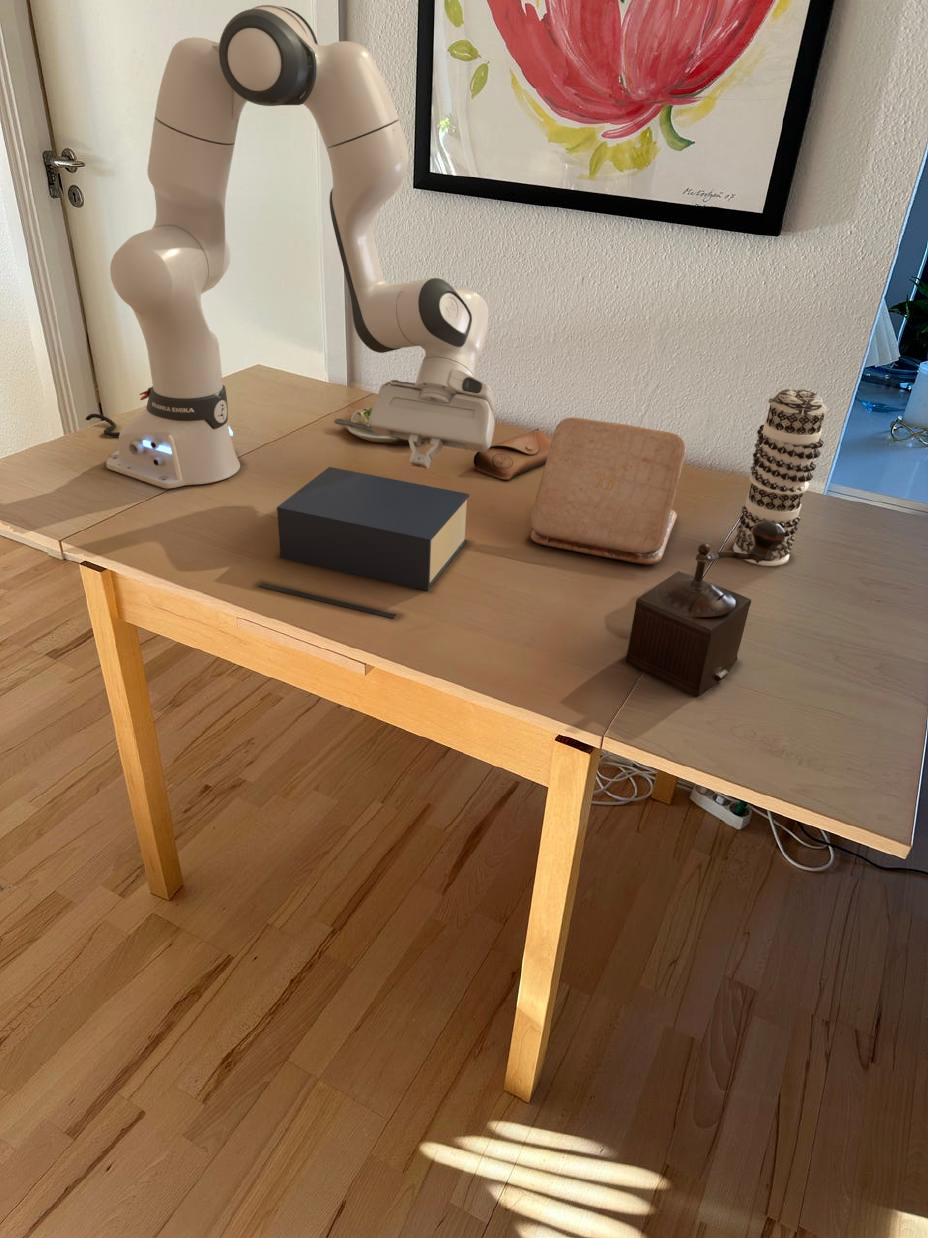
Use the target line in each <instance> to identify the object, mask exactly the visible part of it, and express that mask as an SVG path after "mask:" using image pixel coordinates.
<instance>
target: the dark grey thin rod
mask: <svg viewBox="0 0 928 1238" xmlns="http://www.w3.org/2000/svg"><path fill="white" fill-rule="evenodd" d="M258 587H259V588H263V589H267V590H271V591H275V592H280V593H284V594H288V595H291V596H297V597H301V598H305V599H309V600H313V601H318V602H322V603H326V604H329V605H333V606H339V607H343V608H347V609H351V610H356V611H359V612H363V613H368V614H371V615H377V616H379V617H380V616H381V617H385V618H389V619H395V617H397V613H392V612H388V611H384V610H379V609H375V608H371V607H367V606H363V605H358V604H354V603H350V602H345V601H341V600H337V599H333V598H328V597H324V596H320V595H316V594H312V593H308V592H303V591H300V590H295V589H291V588H286V587H283V586H278V585H273V584H269V583H266V582H261V584H259V586H258Z"/></svg>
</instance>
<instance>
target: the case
mask: <svg viewBox="0 0 928 1238" xmlns="http://www.w3.org/2000/svg"><path fill="white" fill-rule="evenodd" d="M551 442H552V443H551V447H550V450H549V453H548V457H547V460H546V464H544V467H543V471H542V475H541V479H540V482H539V485H538V489H537V493H536V495H535V499H534V502H533V506H532V510H531V512H530V513H531V514H530V518H529V524H530V527H531V529H532V530H531V532H530V539H531V540H532V542H535V544H538V545H541V546H546V547H551V548H557V549H560V550H566V551H572V552H577V553H582V554H587V555H593V556H597V557H603V558H609V559H613V560H618V561H624V562H629V563H633V564H634V563H635V564H639V565H640V564H641V565H645V566H646V565H647V566H651V565H656V564H659V562H661V560H662V558H663V556H664V553H665V551H666V548H667V547H666V546H667V545H668V543H669V539H670V537H671V534H672V530H673V528H674V525H675V522H676V520H677V517H678V514H677V513H676V511H675V510H673V505H674V500H675V496H676V492H677V489H678V484H679V481H680V477H681V473H682V470H683V469H682V468H683V466H684V460H685V457H686V453H687V443H686V441H685V440H684V438H683V437H682V436H681V435H680V434H677V433H674V432H670V431H666V430H665V431H664V430H659V429H652V428H647V427H646V428H645V427H641V426H636V425H632V424H627V423H620V422H619V423H618V422H609V421H602V420H595V419H589V418H583V417H566V418H564V419H562V420H561V421H559V423H558V424H557V425H556V427H555V429H554V432H553V436H552V440H551Z"/></svg>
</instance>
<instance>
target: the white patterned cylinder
mask: <svg viewBox="0 0 928 1238" xmlns="http://www.w3.org/2000/svg"><path fill="white" fill-rule="evenodd" d="M767 402H768V403H769V409H768V413H767V417H766V418H765V421H764V423H763V424H761V425H760V426H759V428H758V429H757V431H756V434H757V440H756V442H755V444H754V449H755V451H754V452H753V453H752V457H753V459H752V460H753V463H752V465H751V466H750V471H751V474H750V475H749V480H750V482H751V485H750V487H749V492H748V494H747V496H746V500H745V503H744V505H743V506H742V507H741V510H742V511H741V515H740V517H739V522H740V524H738V525H737V527H736V535H735V537H734V545H733V547H732V550H733V552H738V553H745V554H749V551H750V550H751V549H752V548H753V546H754V545H755V542H754V537H753V534H752V530H753V526H754V525H755V524H756V523H757V522H761V521H772V522H776V523H778V524H780V526H781V527H782V528H783V529H784V531H785V538H784V540H783V542H782V543H781V544H780V545H778V546H777V547H776V548H775V549H774V550H773V551H772V560H771V561H763V560H762V562H758V563H757V562H756V561H754V560H745V561H746V562H748V563H750V564H755V565H759V566H766V567H777V566H782V565H784V564H786V563H787V562H789V558H790V555H791V551H792V550H793V547H792V546H793V544H794V542H795V540H796V538H795V536H796V535H795V534H796V532H797V531H798V524H799V522H800V521H801V516H800V511H801V508H802V500H803V496H804V493H806V492H807V491H808V490H809V486H810V483H809V482H810V481H812V479H813V478H814V476H813V474H812V472H813V471H815V470H816V468H817V465H816V463H815V462H814V461H812V460H815V459H817V458H819V457H820V456H821V454H822V453H821V451H820V450H819V449H820V448H822V447H823V446H824V445H825V444H824V443H825V441H824V440H823V439H822V437H821V435H822V431H823V428H822V426H823V423H824V419H825V415H826V413H828V411H829V407H827V406H826V404H825V403H824V401H823V398H822V397H821V396H820V395H819V394H817V393H815V392H813V391H810V390H806V389H801V388H786V389H783V390H781V391H779V392H778V393H777V394H776V395H775V396H773V397H770V398H769V399H768V401H767Z"/></svg>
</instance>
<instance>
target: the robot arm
mask: <svg viewBox="0 0 928 1238" xmlns="http://www.w3.org/2000/svg"><path fill="white" fill-rule="evenodd" d="M378 67H379V66H378V65H377V64H376V61H375V60H374V58H373V56H372V54H371V52H370V51H369V50H368V49H367V48H366V47H365V46H364V45H362V44H360V43H358V42H354V41H347V40H342V41H341V40H340V41H336V42H333V43H330V44H326V45H319V44H318V40H317V36H316V34H315V32H314V30H313V28H312V26H311V25H310V24H309V23H308V22H307V20H306V19H305V18H304V17H303V16H302V15H301V14H299V13H298V12H297V11H295V10H293V9H291V8H288V7H286V6H285V7H284V6H278V5H273V4H272V5H271V4H262V5H257V6H254V7H252V8H250V9H246V10H243V11H241V12H238V13H237V14H236V15H234V16H233V17H231V19H230V20H229V21H228V22H227V24H226V25H225V27H224V29H223V31H222V33H221V36H220V39H219V42H217V41H214V40H210V39H208V38H203V37H196V36H195V37H187V38H184V39H181V40H179V41H177V42H176V43H175V44H174V45H173V47H172V49H171V51H170V54H169V55H168V59H167V62H166V65H165V68H164V71H163V75H162V78H161V82H160V85H159V90H158V94H157V99H156V100H157V101H156V105H155V112H154V118H153V124H152V125H153V126H152V132H151V141H150V148H149V155H148V161H147V162H148V164H147V170H146V171H147V177H148V180H149V183H150V184H151V185H152V187H153V191H154V200H155V221H154V224H153V226H152V228H150V229H148V230H145V231H142V232H138V233H136V234H133V235H132V236H131V237H129V238H128V239H127V240H126V241H125V242H124V243H123V244H121V246H120V247H119V248H118V249H117V250H116V252H115V253H114V254H113V255H112V258H111V261H110V265H109V267H110V268H109V273H110V279H111V283H112V285H113V288H114V290H115V292H116V293H117V295H118V296H119V298H120V299H121V300H122V301H123V302H124V303H125V304H127V306H129V307H130V308H131V310H132V312H133V313H134V315H135V317H136V320H137V322H138V324H139V327H140V329H141V332H142V336H143V338H144V341H145V345H146V350H147V356H148V357H147V358H148V363H149V370H150V376H151V377H150V378H151V383H152V386H150V387H148V388H147V390H145V391H143V392H141V393H139V396H141V397H140V398H139V400H140V401H143V400H146V399H147V403H146V408H145V409H144V410H142V411H141V412H140V413H139V414H137V415H136V416H135V417H134V418H132V419H131V420H130V421H129V422H128V423H126V424H124V426H123V427H122V428H121V430H120V431H119V432H118V431H116V432H114V430H115V429H116V428H117V424H116V422H114V421H113V420H112V419H110V418H109V417H107V416H105V415H103V414H99V413H90V414H88V415H87V416H86V417H85V421H91V420H92V419H100V420H102V421H104V422H106V423H108V424H109V425H110V426H109V427H107V428H105V429H104V430H103V433H104V435H105V436H108V437H117V438H118V442H117V443H118V450H116V451H115V452H114V453H112V454H111V455H110V456H108V457H107V459H106V463H105V464H106V466H105V467H106V469H108V470H111V471H114V472H117V473H119V474H122V475H125V476H128V477H131V478H133V479H136V480H139V481H142V482H145V483H148V484H151V485H154V486H157V487H159V488H161V489H175V488H179V487H184V486H192V485H204V484H212V483H216V482H220V481H223V480H226V479H228V478H231V477H232V476H234V475H235V474H236V473H237V472H239V470H240V469H241V463H240V461H239V458H238V456H237V453H236V450H235V446H234V444H233V440H232V437H233V436H234V434H233V433H234V432H233V430H232V429H231V427H230V425H229V421H228V417H229V406H228V405H229V404H228V397H227V388H226V386H225V385H224V384H223V373H222V372H223V371H222V363H221V354H220V353H221V352H220V343H219V339H218V337H217V336H216V334H215V333H214V332H213V331H212V330H211V329H210V327H209V325H208V323H207V319H206V317H205V314H204V311H203V308H202V303H201V302H202V301H201V299H202V294H203V293H205V292H208V291H210V290H211V289H213V288H215V286H216V285H217V284H218V283H219V282H220V281H221V279H223V277H224V275H225V274H226V272H227V271H228V269H229V267H230V262H231V251H230V246H229V243H228V241H227V239H226V198H227V189H228V184H229V179H230V173H231V167H232V163H233V162H232V161H233V155H234V151H235V150H234V149H235V145H236V138H237V133H238V128H239V122H240V118H241V115H242V112H243V109H244V107H245V105H246V104H247V102H249V103H252V104H254V105H258V106H263V107H277V106H278V107H279V106H302V105H303V106H305V107H306V108H307V109H308V110H309V112H310V113H311V115H312V117H313V119H314V120H315V123H316V125H317V128H318V131H319V132H320V136H321V138H322V142H323V144H324V146H325V149H326V153H327V155H328V159H329V163H330V168H331V175H332V188H331V190H330V191H329V203H328V204H329V211H330V218H331V222H332V226H333V231H334V235H335V240H336V243H337V247H338V252H339V255H340V259H341V262H342V267H343V270H344V275H345V279H346V283H347V288H348V291H349V295H350V303H351V315H352V323H353V327H354V331H355V333H356V335H358V338H359V339H360V340H361V342H363V344H364V345H365V346H366V347H367V348H368V349H370V350H371V351H373V352H375V353H379V354H383V353H384V354H385V353H389V352H393V351H396V350H397V351H398V350H400V349H404V348H406V349H407V348H412V347H413V348H414V347H421V348H422V349H423V350H424V352H425V354H424V357H423V358H422V361H421V363H420V367H419V370H418V373H417V376H416V380H415V382H410V381H401V380H397V379H391V380H390V381H387V382H385V383H383V384H382V385H380V387H379V390H378V394H377V399H376V401H375V402H374V405H373V406H372V407H373V409H372V411H371V414H370V417H369V423H370V425H371V427H372V429H373V430H374V431H375V433H377V434H380V435H386V436H391V437H397V438H403V439H408V441H409V444H410V445H409V448H410V451H411V453H410V458H409V464H410V466H411V467H416V468H424V469H429V468H430V467H431V463H432V460H434V459H435V458H436V457H437V456H439V454H440V453H441V452H442V450H443V447H449V448H454V449H460V450H465V451H472V452H476V453H477V452H482V453H483V452H485V451H486V450H488V449H489V448H490V446H492V442H493V437H494V432H495V424H496V422H495V421H496V420H495V417H494V412H495V409H496V399H495V396H494V393H493V390H492V389H491V388H490V386H489V384H488V383H486V382H484V381H483V380H480V379H477V378H476V377H475V368H476V365H477V363H478V361H480V359H481V356H482V352H483V350H484V346H485V343H486V338H487V333H488V328H489V315H490V314H489V307H488V304H487V302H486V301H485V299H484V298H483V297H482V296H481V295H479V294H478V293H477V292H475V291H474V290H472V289H469V288H465V287H457V288H453V286H452V285H451V284H449V283H448V282H447V281H446V280H444V279H443V278H438V277H432V278H431V277H430V278H421V279H417V280H411V281H408V282H404V283H403V282H402V283H398V284H390V283H388V282H387V281H386V279H385V277H384V275H383V270H382V266H381V261H380V258H379V253H378V248H377V245H376V240H375V236H374V222H375V221H374V220H375V217H376V215H377V213H378V212H379V210H380V209H381V208H382V206H383V205H385V203H387V202H388V201H389V200H390V199H391V198H392V197H393V196H394V194H396V192H397V191H398V190H399V188H400V187H401V186H402V184H403V183H404V180H405V178H406V175H407V172H408V169H409V164H410V157H409V149H408V143H407V139H406V136H405V134H404V130H403V127H402V123H401V121H400V119H399V115H398V112H397V109H396V107H395V104H394V100H393V98H392V96H391V94H390V91H389V89H388V87H387V83H386V82H385V79H384V78H383V75H382V74H381V71H380V70H379V68H378ZM112 431H113V432H112ZM421 442H424V443H427V444H430V446H431V447H429V449H427V451H426V452H425V453H421V452H418V448H420V447H421V445H422V443H421Z"/></svg>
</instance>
